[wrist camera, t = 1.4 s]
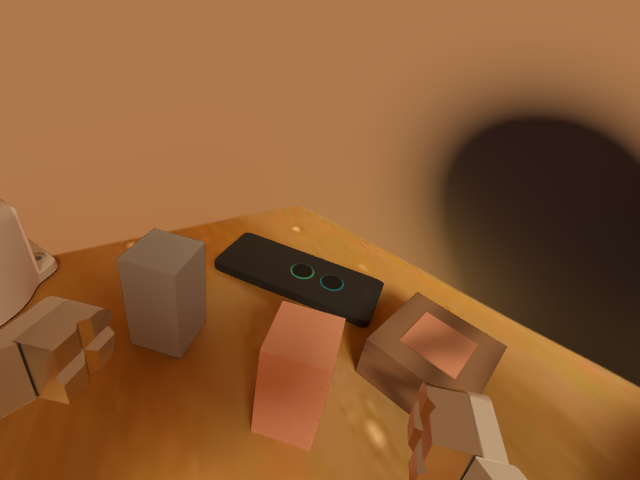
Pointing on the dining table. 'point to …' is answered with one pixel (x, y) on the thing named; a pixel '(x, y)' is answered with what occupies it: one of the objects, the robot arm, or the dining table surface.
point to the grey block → (164, 291)
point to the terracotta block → (295, 374)
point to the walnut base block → (427, 353)
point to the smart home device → (302, 278)
